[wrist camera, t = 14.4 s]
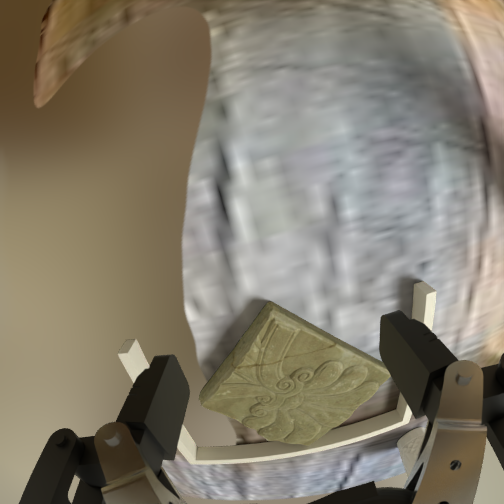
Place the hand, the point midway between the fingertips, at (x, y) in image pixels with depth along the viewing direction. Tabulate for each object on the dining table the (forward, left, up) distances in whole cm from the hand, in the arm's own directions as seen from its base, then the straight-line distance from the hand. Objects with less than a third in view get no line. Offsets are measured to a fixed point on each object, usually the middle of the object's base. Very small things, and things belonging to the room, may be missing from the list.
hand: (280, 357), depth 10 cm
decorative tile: (0, +20, -18) cm, 27 cm away
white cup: (-23, +47, -18) cm, 55 cm away
